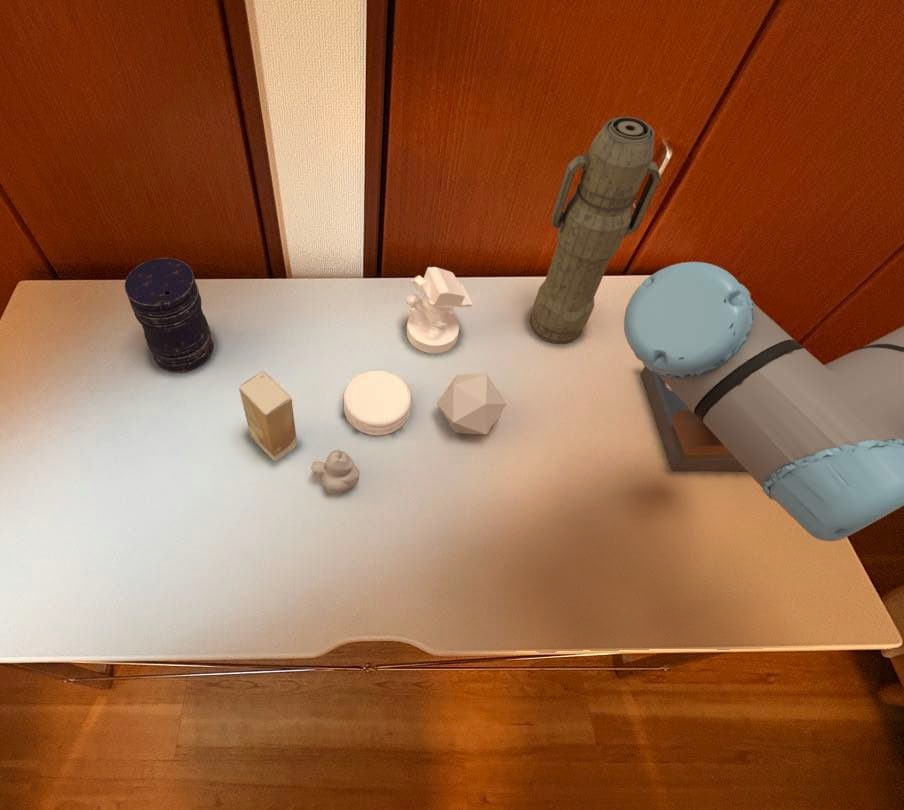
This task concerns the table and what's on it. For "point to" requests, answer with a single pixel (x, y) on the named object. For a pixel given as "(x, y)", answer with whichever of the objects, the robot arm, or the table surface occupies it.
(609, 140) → the thermos
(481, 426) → the die
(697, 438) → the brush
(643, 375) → the tray
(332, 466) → the rubber duck
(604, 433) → the table surface
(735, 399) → the robot arm
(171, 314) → the dark blue cylinder
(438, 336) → the character figurine
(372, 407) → the coaster
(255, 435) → the cosmetic box
